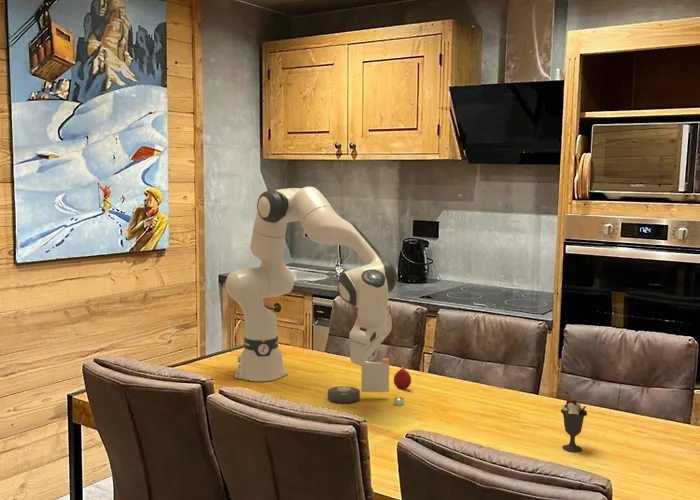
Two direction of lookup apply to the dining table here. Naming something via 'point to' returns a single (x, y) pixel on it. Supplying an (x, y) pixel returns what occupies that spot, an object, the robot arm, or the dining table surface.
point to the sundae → (573, 422)
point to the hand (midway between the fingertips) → (371, 358)
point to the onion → (402, 379)
